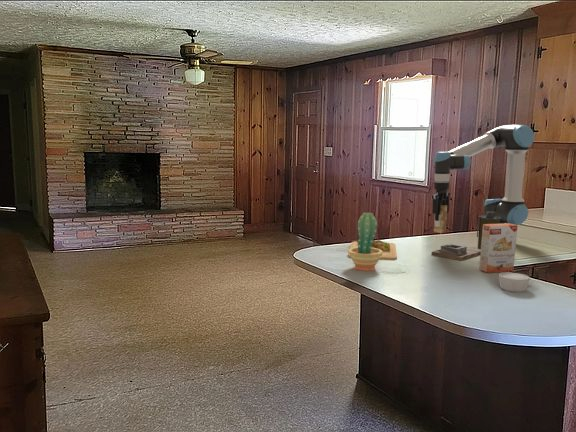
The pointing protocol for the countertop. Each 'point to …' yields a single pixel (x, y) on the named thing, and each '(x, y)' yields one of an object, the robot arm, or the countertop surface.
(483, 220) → the canister
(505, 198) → the robot arm
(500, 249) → the cracker box
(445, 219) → the oak peg
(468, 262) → the countertop surface
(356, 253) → the potted cactus
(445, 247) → the wick stand
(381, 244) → the cutting board
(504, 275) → the ramekin
